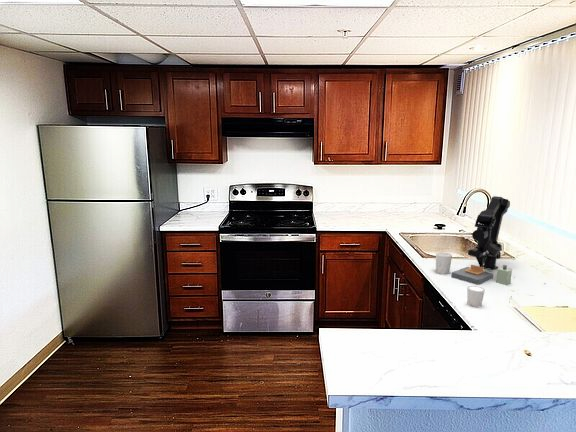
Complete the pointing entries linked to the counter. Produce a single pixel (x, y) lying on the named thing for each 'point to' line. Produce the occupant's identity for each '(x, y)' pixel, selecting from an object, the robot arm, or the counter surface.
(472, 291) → the shot glass
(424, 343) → the counter surface
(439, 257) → the white cup
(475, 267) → the shutter
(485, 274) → the socket
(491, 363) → the counter surface
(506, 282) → the plug
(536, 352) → the counter surface
